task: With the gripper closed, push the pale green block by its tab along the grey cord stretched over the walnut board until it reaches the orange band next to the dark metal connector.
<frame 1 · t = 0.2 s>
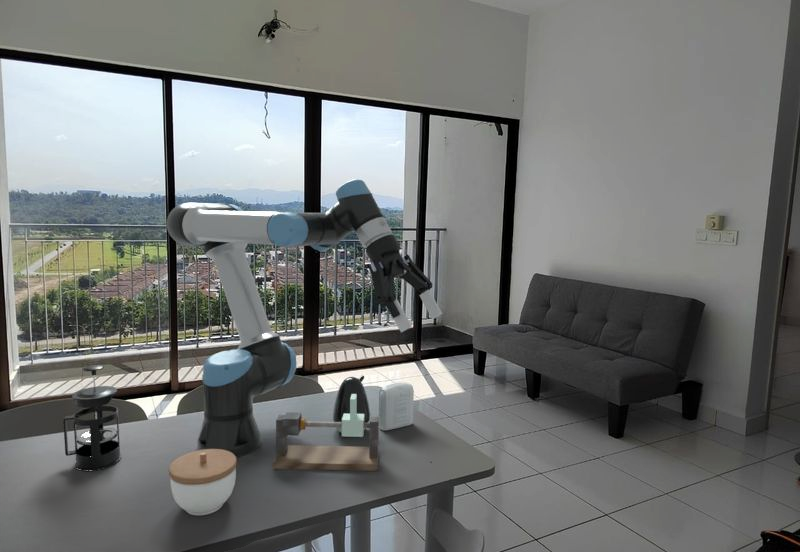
hand: (422, 322, 116), 35 cm above the table, tool tilted 35°, fingers open, 13 cm apart
pump dispenser: (351, 431, 141), on the table
pale green block: (353, 414, 123), point 12 cm above the table, slide at 0.0 cm
cord rig: (328, 460, 124), on the table
photo printer: (395, 426, 145), on the table
lidded bowl: (204, 506, 105), on the table
french press: (96, 462, 122), on the table
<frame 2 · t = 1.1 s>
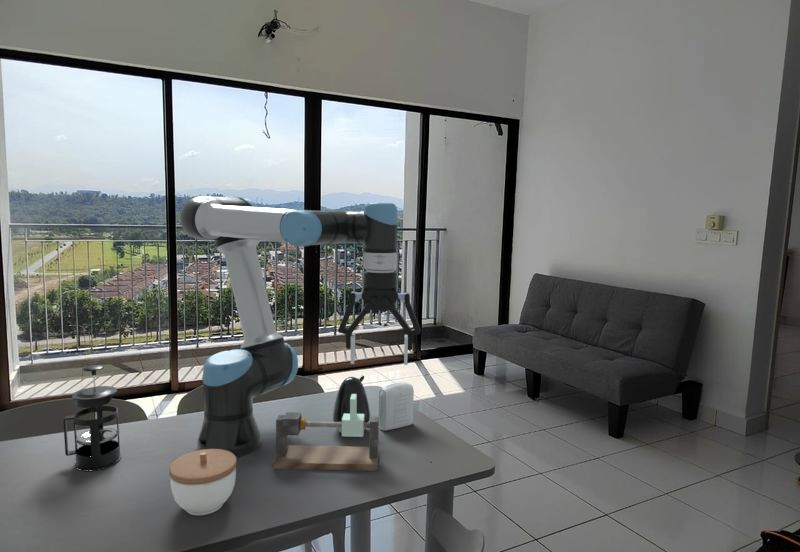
hand: (379, 362, 121), 24 cm above the table, tool pointing down, fingers open, 12 cm apart
nothing on the table moved.
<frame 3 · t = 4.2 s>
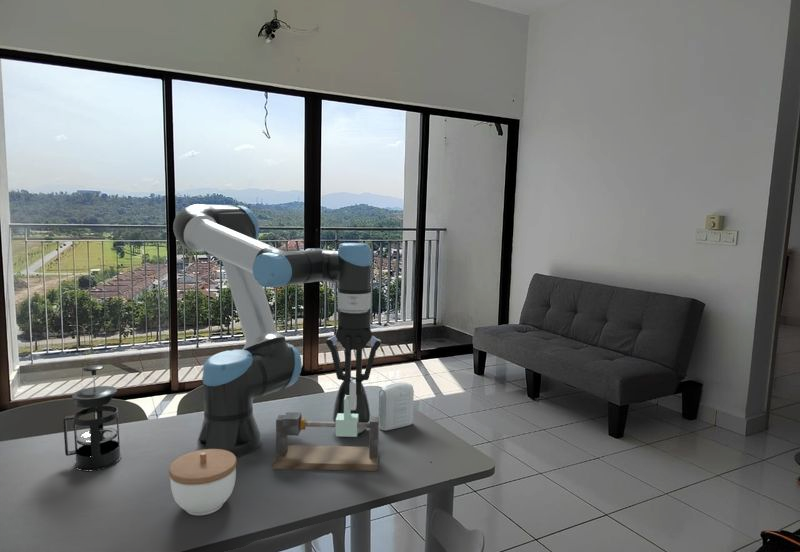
hand: (352, 407, 123), 13 cm above the table, tool pointing down, fingers closed
pale green block: (347, 414, 123), point 12 cm above the table, slide at 1.5 cm, touching gripper
everything else where it was.
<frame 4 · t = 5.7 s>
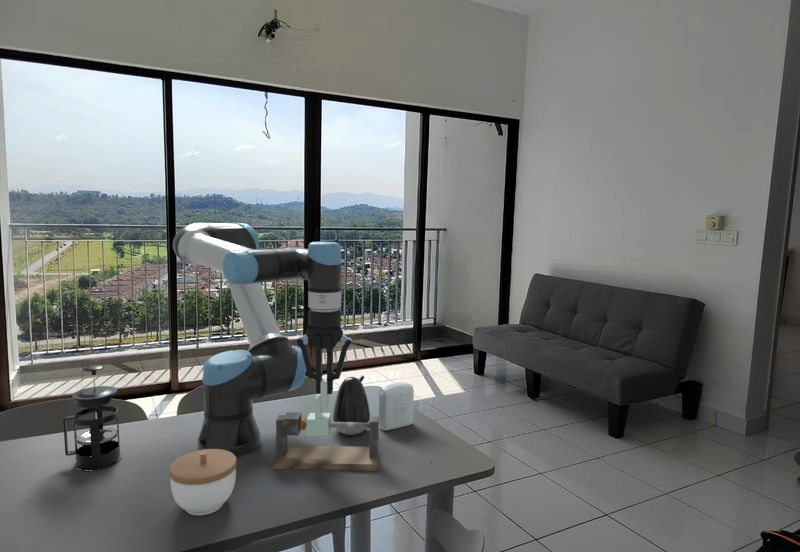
hand: (324, 406, 123), 13 cm above the table, tool pointing down, fingers closed
pale green block: (318, 414, 123), point 12 cm above the table, slide at 8.2 cm, touching gripper
everything else where it was.
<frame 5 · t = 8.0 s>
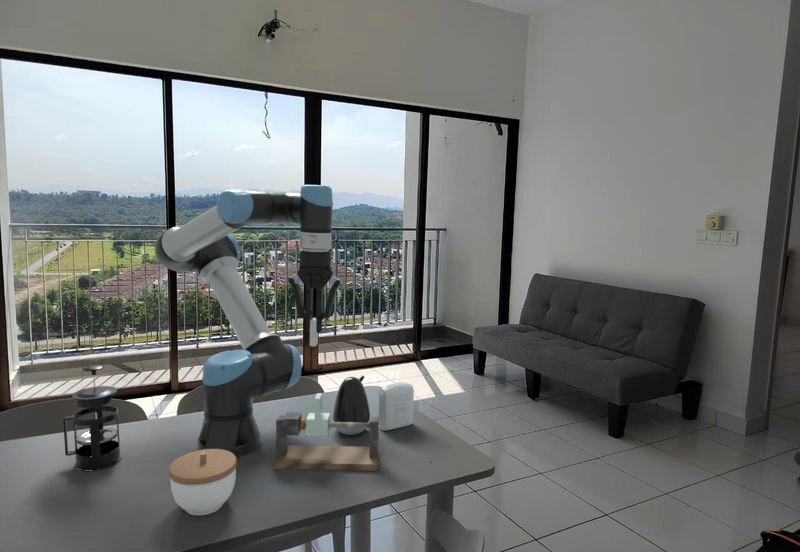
hand: (313, 344, 128), 26 cm above the table, tool pointing down, fingers closed
pale green block: (318, 414, 123), point 12 cm above the table, slide at 8.3 cm
everything else where it was.
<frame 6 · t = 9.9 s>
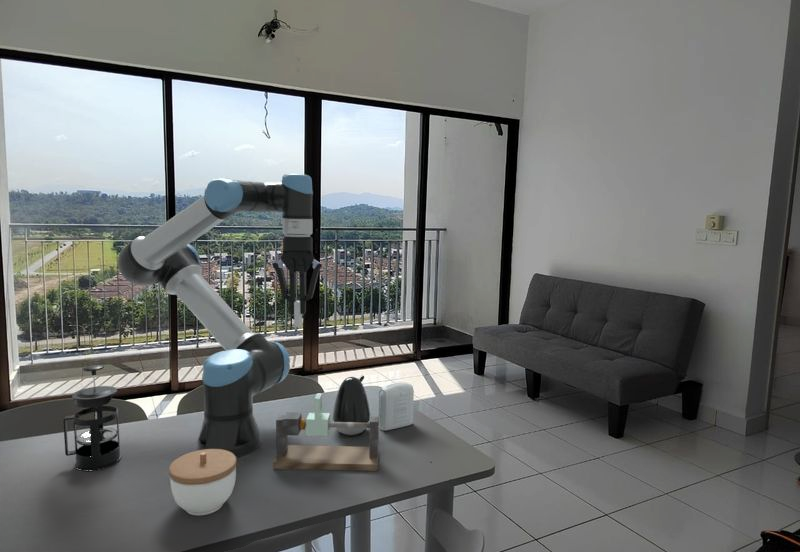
hand: (298, 325, 136), 29 cm above the table, tool pointing down, fingers closed
nothing on the table moved.
at the end: pale green block slide at 8.3 cm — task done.
